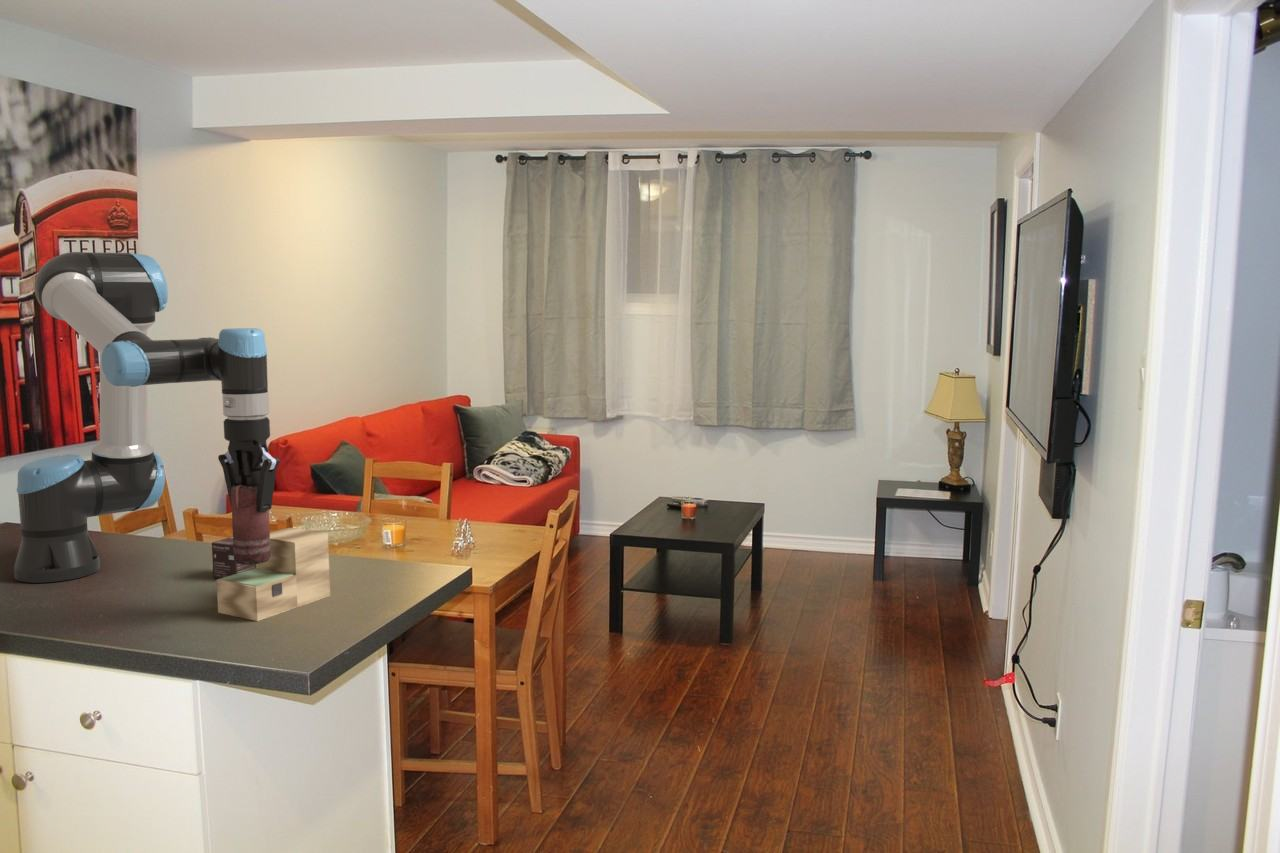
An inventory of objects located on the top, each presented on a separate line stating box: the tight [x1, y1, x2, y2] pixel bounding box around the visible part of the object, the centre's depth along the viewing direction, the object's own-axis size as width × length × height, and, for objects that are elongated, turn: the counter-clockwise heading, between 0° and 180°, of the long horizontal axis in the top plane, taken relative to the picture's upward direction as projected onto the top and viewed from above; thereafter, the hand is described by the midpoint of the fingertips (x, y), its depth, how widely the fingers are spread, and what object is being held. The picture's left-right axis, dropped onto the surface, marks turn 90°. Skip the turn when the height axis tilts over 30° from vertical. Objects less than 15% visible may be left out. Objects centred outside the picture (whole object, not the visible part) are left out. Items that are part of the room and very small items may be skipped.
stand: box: [216, 527, 331, 622], centre depth 187 cm, size 10×17×12 cm, turn 151°
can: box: [231, 483, 271, 565], centre depth 182 cm, size 6×6×14 cm
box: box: [211, 535, 257, 579], centre depth 206 cm, size 6×6×7 cm
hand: (253, 549), depth 183 cm, fingers closed
